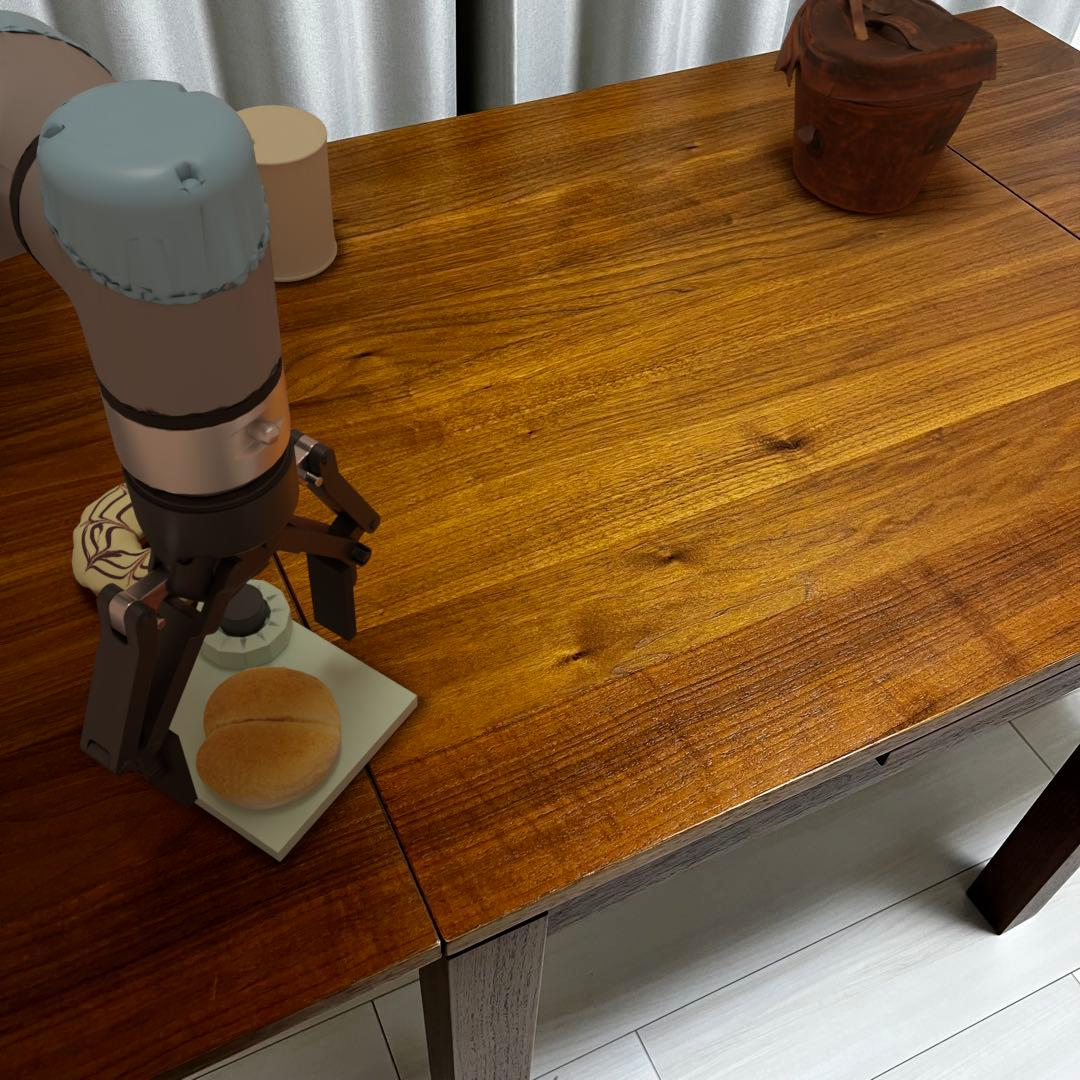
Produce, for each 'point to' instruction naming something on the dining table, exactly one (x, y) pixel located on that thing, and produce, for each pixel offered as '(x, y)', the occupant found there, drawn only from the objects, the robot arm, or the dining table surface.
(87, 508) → the decorated donut
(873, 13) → the case
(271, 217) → the can
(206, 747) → the bread roll
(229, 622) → the button
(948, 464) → the dining table surface
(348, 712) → the scale
